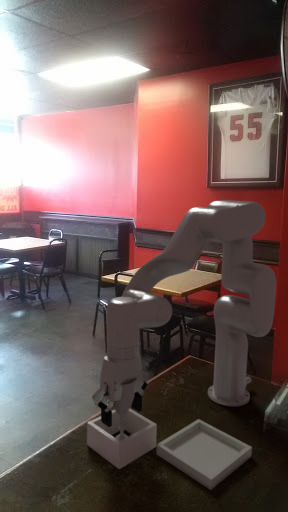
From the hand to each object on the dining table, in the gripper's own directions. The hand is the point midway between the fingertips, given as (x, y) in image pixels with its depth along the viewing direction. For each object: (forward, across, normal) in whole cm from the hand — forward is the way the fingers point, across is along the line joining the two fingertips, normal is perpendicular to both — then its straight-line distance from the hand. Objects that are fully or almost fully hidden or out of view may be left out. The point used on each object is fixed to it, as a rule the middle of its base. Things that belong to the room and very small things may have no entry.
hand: (122, 416), depth 99 cm
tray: (+8, -12, +16) cm, 21 cm away
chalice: (+8, 0, 0) cm, 8 cm away
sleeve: (+8, 0, 0) cm, 8 cm away
